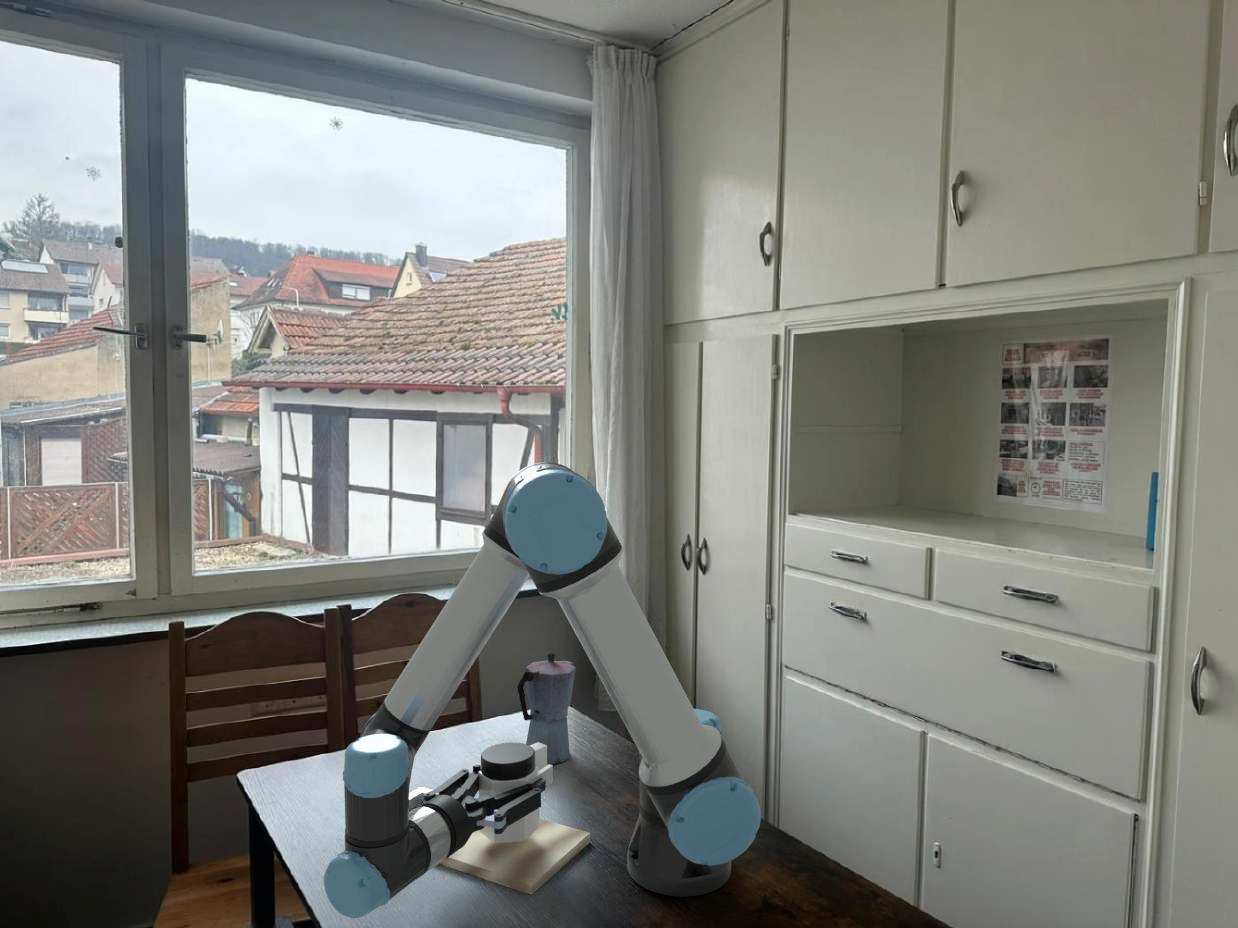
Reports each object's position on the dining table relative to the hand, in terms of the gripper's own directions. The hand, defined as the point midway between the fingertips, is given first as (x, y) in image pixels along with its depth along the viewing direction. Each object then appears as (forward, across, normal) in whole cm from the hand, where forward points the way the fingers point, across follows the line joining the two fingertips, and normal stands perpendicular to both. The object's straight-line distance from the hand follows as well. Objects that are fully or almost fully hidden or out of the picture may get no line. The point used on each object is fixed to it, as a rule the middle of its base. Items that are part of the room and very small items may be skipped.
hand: (529, 768), depth 132 cm
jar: (-5, 0, -8) cm, 9 cm away
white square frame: (-5, -17, -11) cm, 21 cm away
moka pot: (+26, -14, -11) cm, 32 cm away
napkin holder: (+16, -13, -12) cm, 24 cm away
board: (-5, 0, -11) cm, 12 cm away
